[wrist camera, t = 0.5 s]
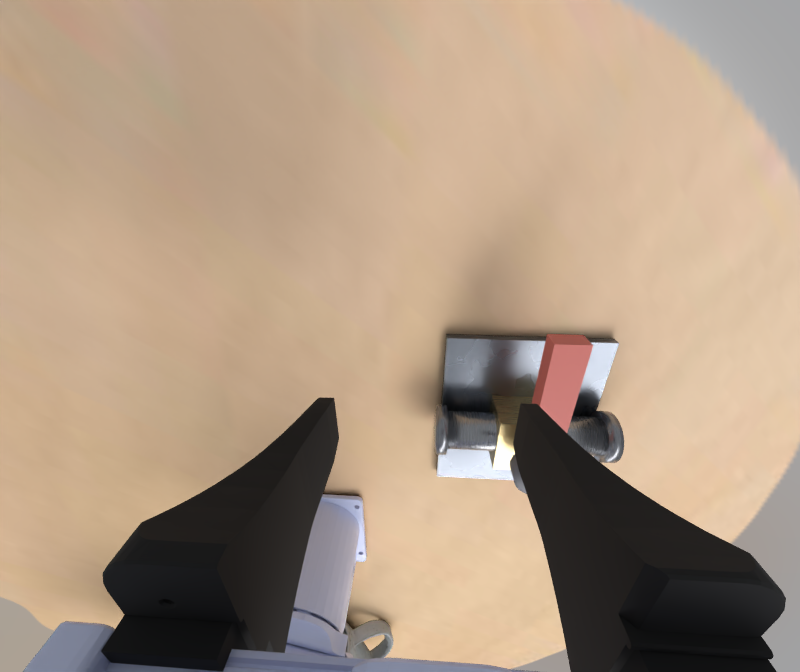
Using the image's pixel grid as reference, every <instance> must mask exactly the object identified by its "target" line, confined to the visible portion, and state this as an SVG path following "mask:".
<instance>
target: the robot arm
mask: <svg viewBox="0 0 800 672" xmlns="http://www.w3.org/2000/svg"><path fill="white" fill-rule="evenodd" d="M338 440H339V434H338V426H337V418H336V410H335V402H334V398H318V399H317V400H316V401H315V402H314V403H313V404H312V405H311V406H310V407H309V408H308V409H307V410H306V411H305V412H304V413H303V414H302V415H301V416H300V417H299V418H298V419H297V420H296V421H295V422H294V423H293V424H292V425H291V426H290V427H289V428H288V429H287V430H286V431H285V432H284V433H283V434H282V435H281V436H279V437H278V438H277V439H276V440H275V441H274V442H273V443H272V444H270V445H269V446H268V447H267V448H266V449H265V450H263V451H262V452H261V453H260V454H259V455H257V456H256V457H255V458H253V459H252V460H251V461H249V462H248V463H247V464H245V465H244V466H242V467H241V468H240V469H238V470H237V471H235V472H234V473H232V474H231V475H229V476H227V477H226V478H224V479H223V480H221V481H220V482H218V483H217V484H215V485H213V486H212V487H210V488H208V489H207V490H205V491H203V492H202V493H200V494H198V495H196V496H194V497H192V498H191V499H189V500H187V501H185V502H183V503H181V504H179V505H177V506H175V507H173V508H171V509H169V510H167V511H165V512H163V513H161V514H159V515H157V516H155V517H153V518H150V519H148V520H146V521H144V522H142V523H141V524H140V525H139V526H138V528H137V529H136V530H135V531H134V533H133V534H132V535H131V536H130V537H129V539H128V540H127V541H126V543H125V544H124V545H123V546H122V548H121V549H120V550H119V552H118V553H117V554H116V555H115V557H114V558H113V559H112V561H111V562H110V563H109V564H108V566H107V567H106V569H105V570H104V572H103V583H104V585H105V587H106V589H107V591H108V592H109V594H110V595H111V597H112V598H113V599H114V601H115V602H116V603H117V605H118V606H119V607H120V609H121V610H122V612H123V613H124V614H125V615H124V617H123V618H122V620H121V621H120V623H119V624H118V626H117V627H116V629H114V628H113V627H110V626H108V625H104V624H98V623H83V622H69V621H65V622H63V623H61V624H60V625H59V626H58V627H57V629H56V630H55V631H54V633H53V634H52V635H51V636H50V638H49V639H48V640H47V642H46V643H45V644H44V645H43V646H42V648H41V649H40V650H39V652H38V653H37V654H36V655H35V657H34V658H33V659H32V660H31V662H30V663H29V664H28V666H27V667H26V668H25V669H24V671H23V672H538V671H524V670H510V669H506V668H501V667H496V666H491V665H483V664H470V663H456V662H442V661H429V660H415V659H401V658H374V659H361V658H353V655H352V654H350V653H347V652H346V646H347V639H348V636H347V635H345V634H343V631H344V628H345V624H346V618H347V612H348V606H349V600H350V594H351V589H352V583H353V577H354V571H355V565H356V561H358V562H364V561H365V560H366V557H367V553H366V539H365V525H364V511H363V500H362V498H361V497H359V496H345V495H327V494H323V492H324V489H325V486H326V483H327V480H328V477H329V474H330V472H331V469H332V466H333V463H334V459H335V454H336V450H337V445H338ZM513 446H514V451H515V456H516V461H517V465H518V469H519V472H520V475H521V478H522V481H523V484H524V487H525V490H526V493H527V496H528V498H529V501H530V504H531V507H532V510H533V513H534V515H535V518H536V521H537V524H538V527H539V530H540V533H541V537H542V540H543V544H544V548H545V552H546V556H547V560H548V564H549V568H550V573H551V577H552V581H553V586H554V590H555V595H556V599H557V604H558V609H559V613H560V618H561V623H562V628H563V633H564V638H565V643H566V648H567V654H568V659H569V664H570V670H571V672H776V670H775V669H774V667H773V666H772V665H771V663H770V662H769V660H768V659H772V658H773V653H772V651H771V649H770V648H769V647H768V645H767V644H766V642H765V641H764V640H763V638H762V637H761V636H762V635H763V634H764V632H765V631H766V630H767V629H768V628H769V627H770V626H771V625H772V624H773V623H774V622H775V621H776V620H777V619H778V618H779V617H780V615H781V614H782V612H783V611H784V608H785V601H786V598H785V596H784V594H783V592H782V591H781V589H780V588H779V587H778V586H777V585H776V584H775V582H774V581H773V580H772V579H771V578H770V576H769V575H768V574H767V573H766V572H765V570H764V569H763V568H762V567H761V566H760V565H759V563H758V562H757V561H756V560H755V559H754V558H753V557H752V555H751V554H750V553H748V552H746V551H744V550H742V549H740V548H738V547H736V546H734V545H732V544H730V543H728V542H726V541H724V540H722V539H720V538H718V537H716V536H714V535H712V534H710V533H708V532H706V531H704V530H703V529H701V528H699V527H697V526H695V525H694V524H692V523H690V522H688V521H687V520H685V519H683V518H681V517H679V516H678V515H676V514H674V513H673V512H671V511H669V510H668V509H666V508H664V507H663V506H661V505H659V504H658V503H656V502H655V501H653V500H652V499H650V498H649V497H647V496H645V495H644V494H642V493H641V492H639V491H638V490H636V489H635V488H633V487H632V486H631V485H629V484H628V483H626V482H625V481H624V480H622V479H621V478H620V477H618V476H617V475H616V474H614V473H613V472H611V471H610V470H609V469H608V468H606V467H605V466H604V465H602V464H601V463H600V462H599V461H598V460H596V459H595V458H594V457H593V456H592V455H591V454H589V453H588V452H587V451H586V450H585V449H584V448H582V447H581V446H580V445H579V444H578V443H577V442H576V441H575V440H574V439H573V438H571V437H570V436H569V435H568V434H567V433H566V432H565V431H564V430H563V429H562V428H561V427H560V426H559V425H558V424H557V423H556V422H555V421H554V420H553V419H552V418H551V417H550V416H549V415H548V414H547V413H546V412H545V411H544V410H543V409H542V408H541V407H540V406H539V405H538V404H526V403H521V404H520V409H519V414H518V420H517V425H516V430H515V435H514V441H513Z"/></svg>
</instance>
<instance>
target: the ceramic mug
mask: <svg viewBox="0 0 800 672" xmlns="http://www.w3.org/2000/svg"><path fill="white" fill-rule="evenodd" d="M343 634H345V635H347V636H348V639H347V646H346V652H347V653H350V654H352V655H353V658H361V659H374V658H384V657H385V656H386V655H387V654H388V653H389V652H390V650H391V648H392V646H393V636H392V633H391V629H390V626H389V625H388V624H387V622H385V621H383V620H373V621H369V622H366V623H364V624H362V625H360V626H358V627H356V628H355V629H352V628H351V627H350V626H349V625H348V624H347V623H346V624H345V628H344V631H343ZM377 635H385V639H384V640H383V641H382V642H381V643H380V644H379V645H378V646H376V647H375V648H374V649H373V650H371V651H369V649H368V648H367V646H366V645H365V643H364V642H363V641H365V640H367V639H368V638H371V637H374V636H377Z"/></svg>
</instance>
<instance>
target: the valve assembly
mask: <svg viewBox="0 0 800 672" xmlns="http://www.w3.org/2000/svg"><path fill="white" fill-rule="evenodd" d="M587 339H588V340H589V341H590V343H591V344H592V345H593V348H592V352H591V355H590V358H589V362H588V365H587V368H586V372H585V375H584V378H583V382H582V385H581V388H580V392H579V395H578V399H577V402H576V405H575V409H574V412H573V415H572V419H571V422H570V425H569V429H568V432H567V434H568V435H569V436H570V437H571V438H573V439H574V440H575V441H576V442H577V443H578V444H579V445H580V446H581V447H582V448H584V449H585V450H586V451H587V452H588V453H589V454H591V455H592V456H594V458H595V459H596V460H598V461H599V462H605V463H615V462H617V461H619V460H620V458H621V456H622V454H623V449H624V437H623V431H622V428H621V425H620V423H619V421H618V419H617V418H616V417H615V415H613V414H612V413H611V412H607V411H596V410H597V407H598V404H599V401H600V398H601V395H602V392H603V389H604V387H605V384H606V381H607V378H608V375H609V372H610V369H611V366H612V363H613V360H614V357H615V354H616V351H617V348H618V345H619V343H618V342H617V341H616V340H615V339H596V338H587ZM545 341H546V337H527V336H493V335H458V334H447V336H446V350H445V363H444V377H443V391H442V404H441V405H436V411H435V425H434V442H435V454H437V455H438V459H437V476H441V477H461V478H480V479H500V480H514V479H513V476H512V472H511V469H510V460H511V458H512V457H513V455H514V454H515V451H514V446H513V441H514V435H515V430H516V425H517V420H518V414H519V409H520V404H521V403H526V404H532V399H533V395H534V390H535V386H536V381H537V377H538V372H539V368H540V364H541V359H542V355H543V350H544V346H545Z"/></svg>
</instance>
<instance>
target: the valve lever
mask: <svg viewBox="0 0 800 672" xmlns="http://www.w3.org/2000/svg"><path fill="white" fill-rule="evenodd" d="M592 348H593V345H592V344H591V343H590V341H589V340H588V339H587V338H586V337H585V336H584V335H563V334H547V337H546V341H545V346H544V350H543V355H542V359H541V364H540V368H539V372H538V377H537V381H536V386H535V390H534V395H533V399H532V404H538V405H539V406H540V407H541V408H542V409H543V410H544V411H545V412H546V413H547V414H548V415H549V416H550V417H551V418H552V419H553V420H554V421H555V422H556V423H557V424H558V425H559V426H560V427H561V428H562V429H563V430H564V431H565V432H566V433H567V432H568V429H569V425H570V422H571V419H572V415H573V412H574V409H575V405H576V402H577V399H578V395H579V392H580V388H581V385H582V382H583V378H584V375H585V372H586V368H587V365H588V362H589V358H590V355H591V352H592ZM510 469H511V472H512V476H513V479H514V483H515V485H516V487H517V488H518V489H519V490H520V491H522V492H524V493H526V490H525V487H524V484H523V481H522V478H521V475H520V472H519V469H518V465H517V461H516V456H515V454H514V455H513V457H512V458H511V460H510ZM526 494H527V493H526Z"/></svg>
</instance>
